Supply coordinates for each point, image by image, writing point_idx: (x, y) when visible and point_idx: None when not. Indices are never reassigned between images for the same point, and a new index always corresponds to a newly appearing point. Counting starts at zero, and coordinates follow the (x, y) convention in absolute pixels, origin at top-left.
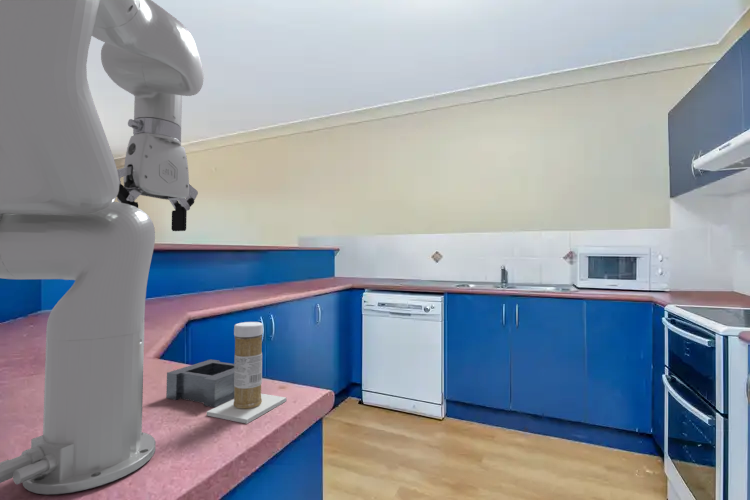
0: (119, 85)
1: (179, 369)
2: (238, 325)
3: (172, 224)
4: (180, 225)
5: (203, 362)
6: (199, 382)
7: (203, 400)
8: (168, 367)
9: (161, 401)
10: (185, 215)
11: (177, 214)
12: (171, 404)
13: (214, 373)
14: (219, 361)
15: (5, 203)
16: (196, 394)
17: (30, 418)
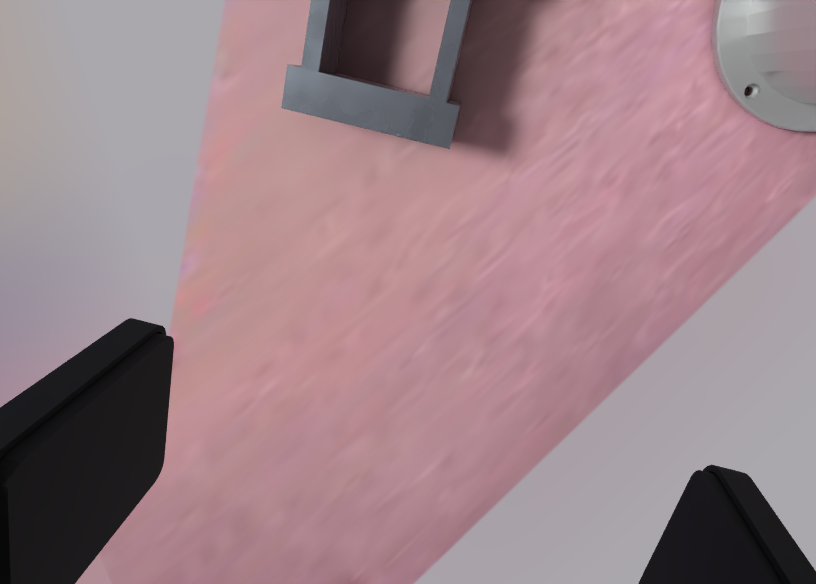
0: None
1: (411, 133)
2: None
3: (129, 504)
4: (144, 387)
5: (321, 108)
6: (466, 18)
7: (471, 4)
8: (212, 322)
9: (474, 137)
10: (28, 405)
11: (51, 527)
12: (491, 93)
13: (328, 63)
14: (288, 65)
15: None
16: (464, 32)
17: (604, 351)
